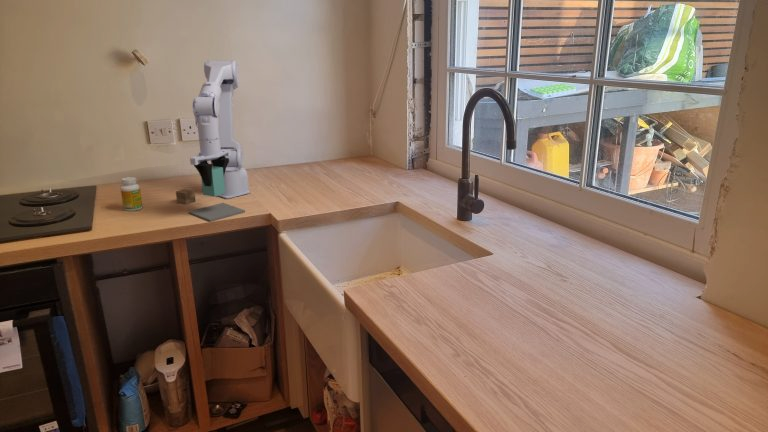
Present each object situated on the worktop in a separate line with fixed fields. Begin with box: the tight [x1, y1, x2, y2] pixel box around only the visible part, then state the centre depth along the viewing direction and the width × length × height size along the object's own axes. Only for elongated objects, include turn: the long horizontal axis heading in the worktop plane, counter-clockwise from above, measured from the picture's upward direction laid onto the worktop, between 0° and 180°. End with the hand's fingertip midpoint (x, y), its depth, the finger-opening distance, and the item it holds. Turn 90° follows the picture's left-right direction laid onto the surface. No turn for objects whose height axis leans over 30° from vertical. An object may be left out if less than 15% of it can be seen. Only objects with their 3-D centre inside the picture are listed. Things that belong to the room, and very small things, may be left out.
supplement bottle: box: [120, 176, 143, 212], centre depth 161 cm, size 5×5×10 cm
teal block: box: [200, 166, 225, 197], centre depth 156 cm, size 4×4×8 cm
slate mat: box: [188, 202, 246, 222], centre depth 158 cm, size 12×12×1 cm
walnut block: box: [175, 188, 197, 206], centre depth 168 cm, size 4×4×4 cm
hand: (214, 183), depth 156 cm, fingers closed on teal block, 4 cm apart
